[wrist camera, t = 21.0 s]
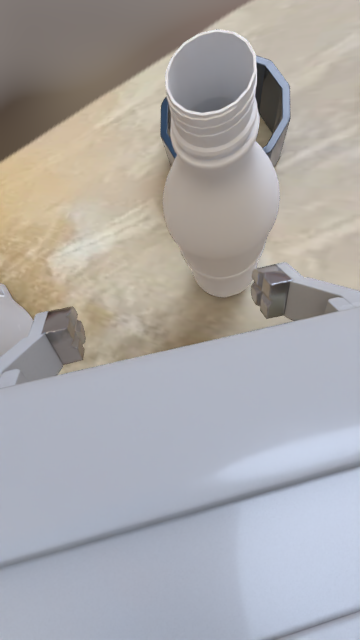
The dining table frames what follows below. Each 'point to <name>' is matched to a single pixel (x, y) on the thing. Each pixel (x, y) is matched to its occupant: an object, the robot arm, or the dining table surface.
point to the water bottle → (218, 162)
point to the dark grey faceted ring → (269, 103)
